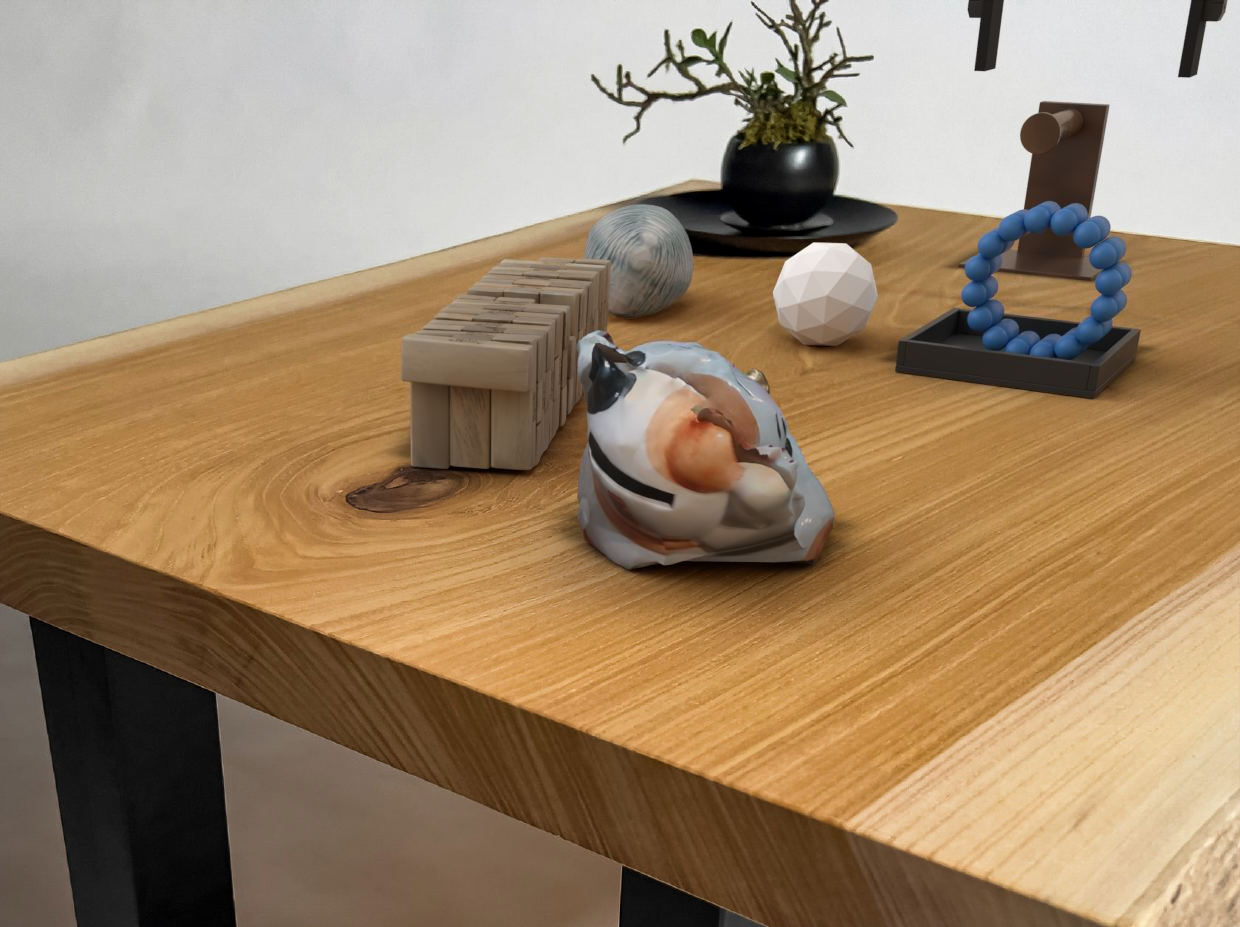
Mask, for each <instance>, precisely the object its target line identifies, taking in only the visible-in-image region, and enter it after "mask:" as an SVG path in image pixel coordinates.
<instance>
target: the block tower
mask: <svg viewBox="0 0 1240 927" xmlns="http://www.w3.org/2000/svg"><path fill="white" fill-rule="evenodd" d="M610 272H611V261H610V260H599V259H585V258H577V259H573V258H561V257H545V256H544V257H541V258H540V259H538V260H524V259H513V258H512V259H511V258H504V259H502V260H501V261H500V263H499V264H497V265H496V266H495V265H494V266H493V267H492V268H491V269H490V270H489V271H488V272H487V273H486V274H484V275H483V276H482V277H481V279H479V280H478V281H476V282H475V283H473V284H472V286H471V287H470V288H468V289H466V294H459V295H457V296H456V297H455V299H454V300H453V301H452V302H451V303H450V304H447V306H445V307H443V308H441V309H440V310H439V312H438V313H437V314H436V315H434V317H433V319H432V320H430V321H429V322H428V323H427V324H425V325H424V326H423V327H422V328H421V329H420V330H418V331H416V332H415V333H408V334H406V335H404V336H403V337H402V338H401V350H400V352H401V354H400V355H401V356H400V358H401V359H400V364H401V365H400V366H401V372H400V380H401V381H402V382H408V383H409V409H410V410H409V414H410V420H409V422H410V423H409V424H410V426H409V427H410V466H411V467H413V468H427V469H441V470H448V469H450V468H451V467H457V468H466V469H467V468H470V469H482V470H483V469H484V470H488V469H491V468H494V469H503V470H514V471H515V470H517V471H518V470H519V471H530V470H532V469H533V468H534V467H537V465H538V464H539V463H540V461H541V457H543V455H544V452H546V450H547V449H549V445H550V443H551V442H552V440H553V438H555V436H556V434H557V431H558V429H559V427H560V428H561V427H564V425H565V423H566V422H567V416H569V415H570V414H571V412H572V410H573V408H574V407H575V405H576V404H578V402H580V399H581V398H582V396H583V395H584V393H583V386H582V384H581V382H580V379H579V376H578V370H577V365H578V358H579V354H578V352H577V343H578V340H581V339H582V338H583V337H585V336H586V335H588V334H590V333H593V332H595V331H598V330H600V331H603V332H608V325H609V324H608V323H609V322H608V320H609V313H608V308H609V290H610Z"/></svg>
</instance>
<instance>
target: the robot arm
mask: <svg viewBox="0 0 1240 927" xmlns="http://www.w3.org/2000/svg"><path fill="white" fill-rule="evenodd" d="M1004 2H1005V0H968V3H967V14H968V18H969V19H980V20H979V28H978V37H977V44H976V52H975V60H974V69H973V71H974V72H988V71H991V70H995V69H996V67H997V58H998V50H999V43H1000V37H1001V36H1000V35H1001V28H1002V19H1003V10H1004ZM1227 5H1228V0H1190V4H1189V11H1188V17H1187V20H1186V23H1187V24H1186V27H1185V33H1184V40H1183V45H1182V51H1181V56H1180V63H1179V68H1178V74H1177V78H1184V79H1185V78H1186V79H1187V78H1192V77H1195V76H1197V75H1198V71H1199V66H1200V60H1201V55H1202V50H1203V43H1204V38H1205V32H1206V27H1207V22H1216V23H1217V22H1220V21H1221V20H1223V18H1224V15H1225V14H1226V10H1227Z"/></svg>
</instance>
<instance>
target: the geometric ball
mask: <svg viewBox="0 0 1240 927" xmlns="http://www.w3.org/2000/svg"><path fill="white" fill-rule="evenodd" d="M781 268H782V269H781V270H780V273H779V276H778V278H777V281H776V283H775V286H774V289H773V291H772V296H773V301H774V305H775V309H776V315H777V318H778V323H779V325H780V326H781V327H782V328H783V329H784V330H786V331H787V332H788V333H789V334H790V335H792V336H793V337H794V338H795V339H796V340H798V341H799V342H800V343H801V344H802V345H804V346H817V347H818V346H819V347H820V346H821V347H838V346H839V345H841V344H843V343H844V342H846V341H847V340H849V339H850V338H852V337H854V335H855V336H856V335H857V334H858V333H859V332H861V331H863V330H864V329H865V328H866V326H867V325H868V322H869V319H870V317H871V315H872V313H873V310H874V307H875V305H876V303H877V300H878V298H879V294H878V289H877V286H876V281H875V276H874V271H873V266H872V264H871V263H870V262H869V261H868V259H866V258H864V257H863V256H862V255H861V254H860V253H859V252H857V251H856V250H855V249H854V248H852V247H851V246H850V245H849V244H848V243H842V242H840V243H839V242H812V243H811V244H809V245H808V246H806V247H804V248H803V249H801V250H800V251H799V252H797V253H796V254H794V255H792V256H791V257H789V258H788V259H787V260H785V261H784V263H783V266H782V267H781Z"/></svg>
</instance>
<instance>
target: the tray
mask: <svg viewBox="0 0 1240 927" xmlns="http://www.w3.org/2000/svg"><path fill="white" fill-rule="evenodd" d="M971 310H972V309H967V308H960V307H952V308H951V309H949V310H948V311H946V312H944V313H943V314H941V315H939V316H937V317H935V318H934V319H933V320H931V321H929V322H927V323H926V324H924V325H921V326H920V327H919V328H917V329H916V330H914V331H912V332H911V333H908V334H907V335H906V336H904V337H902V338H901V339H899V340H898V342H897V343H898V344H897V351H896V360H895V368H894V372H895V373H902V374H908V375H915V376H923V377H931V378H938V379H944V380H953V381H960V382H968V383H974V384H981V385H990V386H995V387H996V386H997V387H1004V388H1011V389H1019V390H1026V391H1033V392H1041V393H1048V394H1055V395H1063V396H1069V397H1070V396H1071V397H1075V398H1076V397H1077V398H1085V399H1092V400H1095V398H1096V397H1098V395H1100V394H1101V393H1102V392H1103V391H1104V390H1105V389H1106V388H1107V387H1108V386H1109V385H1110V384H1112V383H1113V381H1114V380H1115V379H1116V378H1118V377H1119V376H1120V375H1121V374H1122V373H1123V372H1124V371H1125V370H1126V369H1127V368H1128V367H1129V366H1130V365H1131V364H1133V363H1134V362H1135V361H1136V358H1137V353H1138V348H1139V342H1140V337H1141V331H1142V329H1141V328H1132V327H1124V326H1118V325H1117V326H1116V325H1112V328H1111V330H1110V331H1109V332H1108V333H1107V334H1106V335H1105V336H1104V337H1102V338H1101V339H1100V340H1099V341H1098V342H1096V343H1094V344H1091V345H1089V346H1088V347H1087V348H1086V349H1085V350H1084V351H1083V352H1082V353H1081V354H1079V355H1078V356H1077V357H1076V358H1074V359H1072V360H1065V359H1060V358H1049V357H1041V356H1033V355H1025V354H1017V353H1009V352H1004V349H1005V347H1004V348H1003V349H1001V350H999V351H993V350H988V349H986V348H985V347H984V345H983V341H982V338H983V335H984V333H985V331H986V330H987V329H986V330H984V331H981V332H977V331H974V330H972V329H971V328H970V327H969V325H968V321H967V319H968V315H969V313H970V311H971ZM1003 319H1012V320H1014V321H1015V322H1016V323H1017V324H1018V326H1019V334H1021V333H1022V332H1025V331H1033V332H1035V333H1036V334H1037V335H1038V336H1039V337H1040V341H1041V340H1042V339H1043V338H1045V337H1046V336H1047V335H1050V334H1058V335H1060V336H1063V335H1065V334H1066V333H1067V332H1068V331H1070V330H1071V329H1073V328H1075V327H1078V325H1079V324H1080V323H1081V322H1082V321H1073V320H1063V319H1054V318H1046V317H1045V318H1044V317H1038V316H1029V315H1022V314H1021V315H1020V314H1012V313H1004V315H1003V317H1002V319H1001V320H1003ZM1001 320H1000V321H1001ZM998 322H999V321H998ZM998 322H997V323H998ZM995 324H996V323H995ZM995 324H994V325H995ZM992 326H993V325H992ZM992 326H991V327H992ZM989 328H990V327H989ZM989 328H988V329H989ZM1019 334H1018V335H1019Z"/></svg>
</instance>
